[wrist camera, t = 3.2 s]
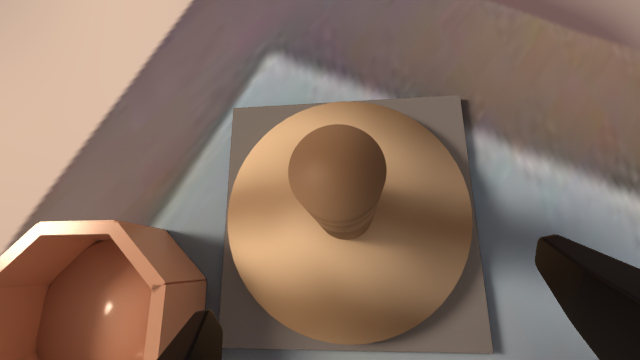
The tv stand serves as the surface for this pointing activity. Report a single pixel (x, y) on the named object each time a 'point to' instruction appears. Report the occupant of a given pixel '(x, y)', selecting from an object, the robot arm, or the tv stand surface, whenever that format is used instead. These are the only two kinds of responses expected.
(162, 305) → the terracotta bowl
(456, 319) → the rubber mat
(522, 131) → the tv stand surface
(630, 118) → the tv stand surface
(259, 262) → the oak lid
